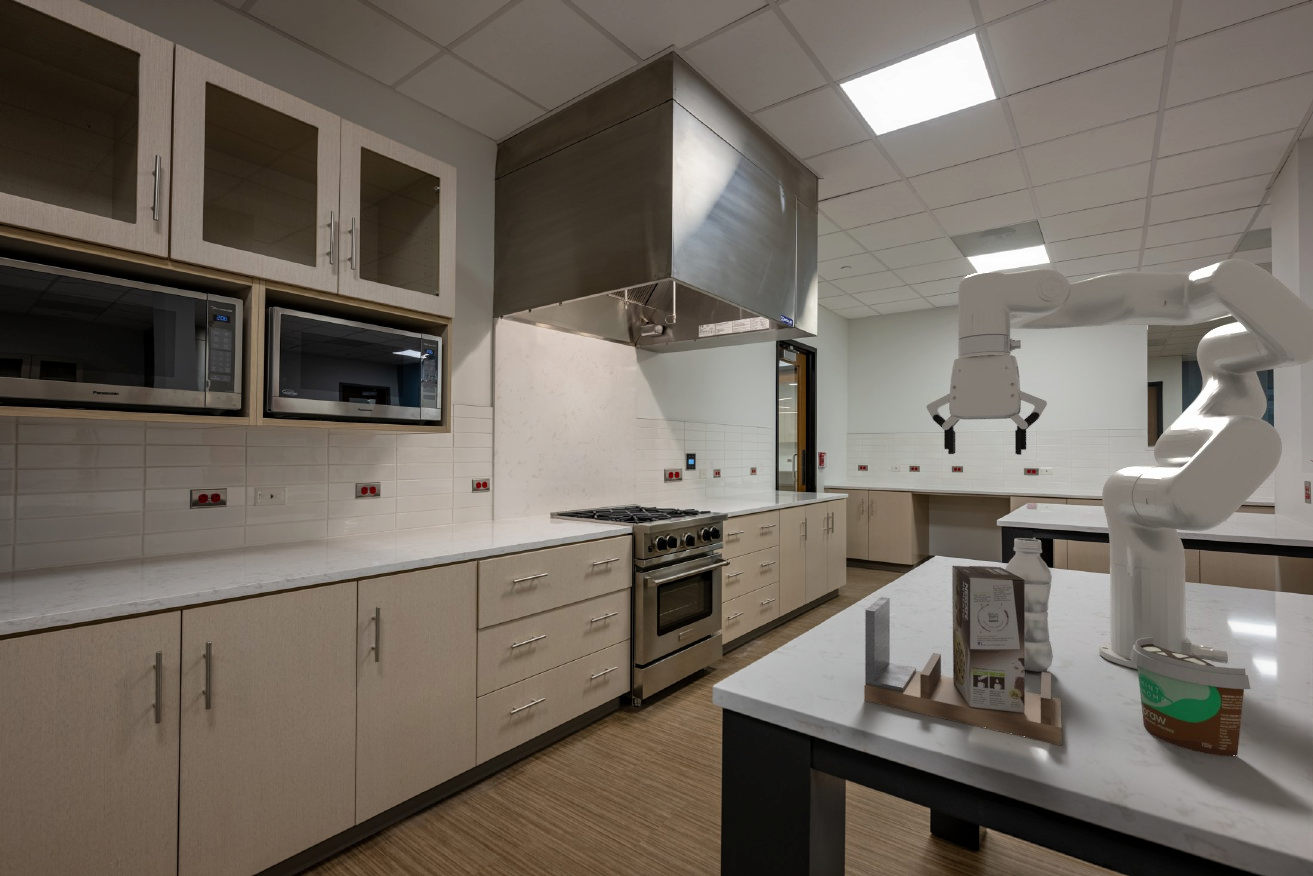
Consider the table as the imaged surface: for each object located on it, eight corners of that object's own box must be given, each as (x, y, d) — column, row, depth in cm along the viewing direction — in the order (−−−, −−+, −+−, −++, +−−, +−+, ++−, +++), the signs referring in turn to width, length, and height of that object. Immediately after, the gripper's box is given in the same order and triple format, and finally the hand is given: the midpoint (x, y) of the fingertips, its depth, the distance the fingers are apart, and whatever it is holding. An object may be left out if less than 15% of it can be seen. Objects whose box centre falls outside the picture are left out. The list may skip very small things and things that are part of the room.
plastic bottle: (1049, 665, 96) (1048, 538, 96) (1056, 679, 89) (1055, 544, 90) (1002, 659, 98) (1001, 535, 99) (1006, 672, 92) (1006, 541, 93)
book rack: (1060, 714, 77) (1060, 674, 78) (1061, 745, 69) (1061, 701, 69) (881, 677, 89) (881, 643, 90) (864, 700, 81) (864, 663, 81)
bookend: (915, 671, 86) (915, 601, 87) (902, 692, 79) (902, 615, 79) (881, 665, 89) (881, 597, 89) (865, 684, 82) (865, 609, 82)
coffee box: (1027, 714, 73) (1026, 579, 73) (969, 708, 74) (968, 576, 75) (1003, 686, 81) (1002, 565, 82) (951, 681, 83) (951, 563, 83)
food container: (1105, 715, 77) (1104, 636, 78) (1149, 714, 78) (1148, 636, 78) (1199, 765, 65) (1198, 671, 65) (1251, 763, 66) (1250, 670, 66)
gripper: (1046, 349, 98) (1047, 455, 97) (930, 357, 107) (930, 454, 107) (1046, 341, 91) (1047, 454, 91) (923, 351, 101) (923, 453, 100)
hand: (984, 454), depth 99 cm, fingers open, 9 cm apart
